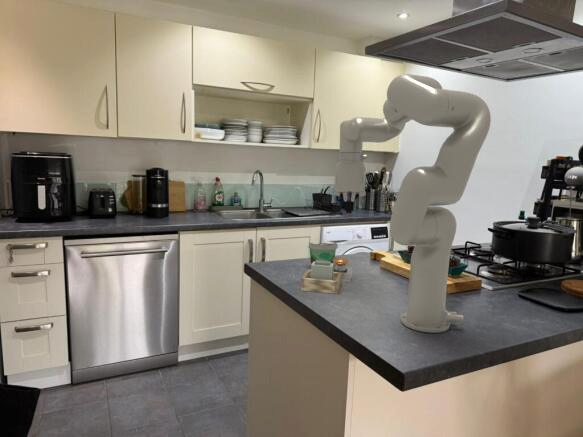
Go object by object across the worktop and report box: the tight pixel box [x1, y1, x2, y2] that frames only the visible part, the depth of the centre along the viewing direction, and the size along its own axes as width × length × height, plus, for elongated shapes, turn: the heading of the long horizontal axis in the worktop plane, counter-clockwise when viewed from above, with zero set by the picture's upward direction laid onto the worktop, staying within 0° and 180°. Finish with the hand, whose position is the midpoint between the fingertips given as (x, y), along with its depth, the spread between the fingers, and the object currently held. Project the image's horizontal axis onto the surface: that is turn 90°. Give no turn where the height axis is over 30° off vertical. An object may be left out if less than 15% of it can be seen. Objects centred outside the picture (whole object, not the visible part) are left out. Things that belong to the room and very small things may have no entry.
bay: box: [300, 269, 342, 295], centre depth 139 cm, size 12×11×4 cm
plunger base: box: [334, 266, 353, 283], centre depth 150 cm, size 8×8×3 cm
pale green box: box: [310, 260, 335, 280], centre depth 139 cm, size 5×7×8 cm
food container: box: [307, 241, 339, 266], centre depth 163 cm, size 12×6×10 cm, turn 111°
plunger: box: [333, 257, 349, 273], centre depth 150 cm, size 6×6×6 cm
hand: (349, 213), depth 140 cm, fingers closed
